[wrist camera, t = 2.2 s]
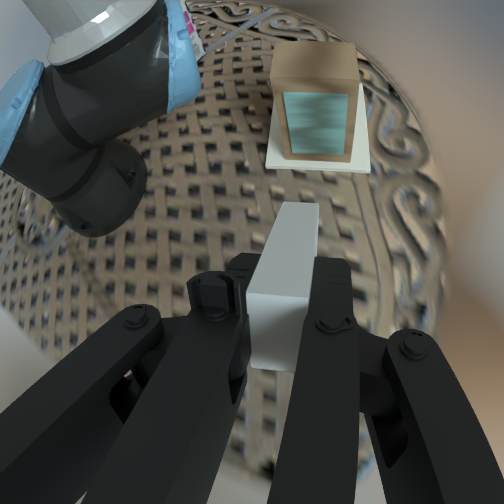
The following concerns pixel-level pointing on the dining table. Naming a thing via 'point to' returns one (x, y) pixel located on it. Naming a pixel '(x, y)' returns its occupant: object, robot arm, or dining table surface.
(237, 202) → the dining table surface
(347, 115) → the tan box
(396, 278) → the dining table surface
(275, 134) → the rubber mat
